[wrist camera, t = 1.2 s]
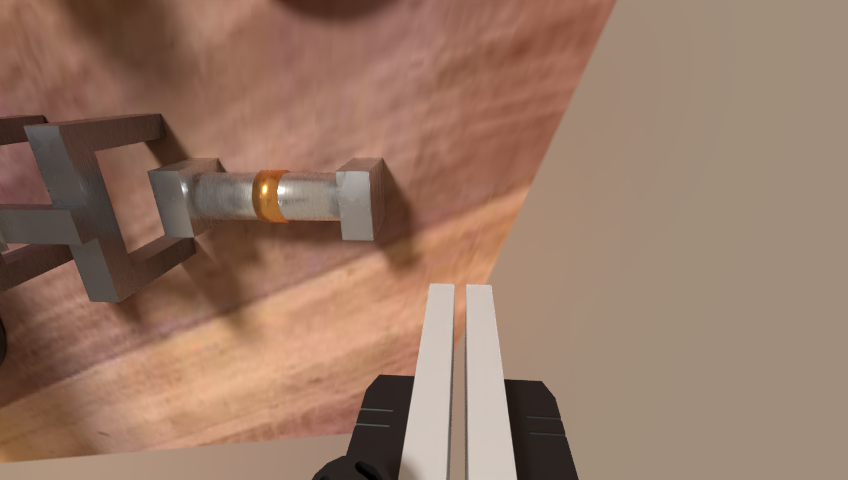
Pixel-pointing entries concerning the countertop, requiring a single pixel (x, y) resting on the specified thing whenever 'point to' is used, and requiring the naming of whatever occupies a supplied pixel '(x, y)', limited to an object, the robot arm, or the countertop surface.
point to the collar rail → (80, 209)
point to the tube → (269, 196)
